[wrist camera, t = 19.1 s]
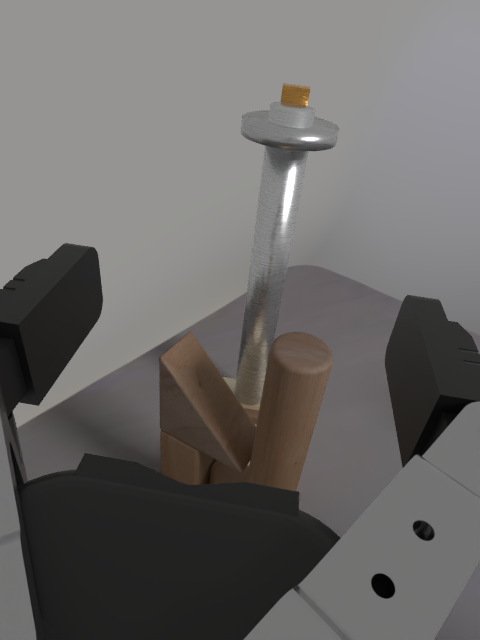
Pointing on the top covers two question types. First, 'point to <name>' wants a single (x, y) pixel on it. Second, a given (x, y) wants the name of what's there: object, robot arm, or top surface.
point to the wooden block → (240, 415)
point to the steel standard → (275, 222)
